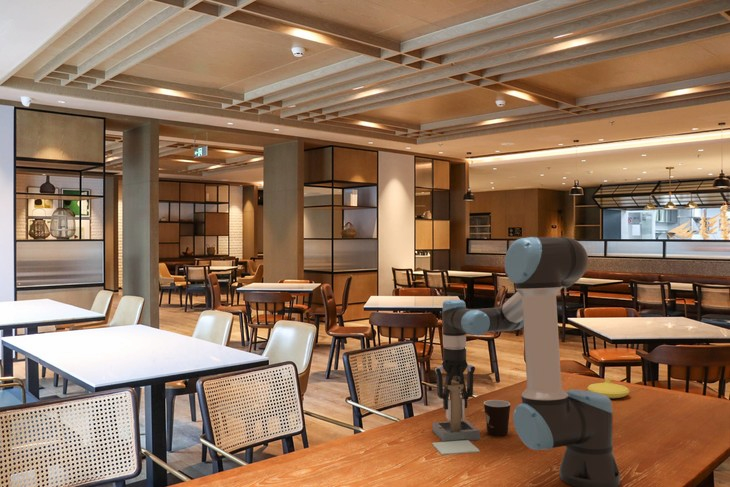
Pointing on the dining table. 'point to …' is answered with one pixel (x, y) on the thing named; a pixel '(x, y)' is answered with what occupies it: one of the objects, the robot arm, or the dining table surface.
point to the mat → (455, 447)
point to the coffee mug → (497, 417)
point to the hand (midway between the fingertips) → (455, 418)
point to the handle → (455, 405)
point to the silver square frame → (463, 433)
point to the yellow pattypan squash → (609, 389)
